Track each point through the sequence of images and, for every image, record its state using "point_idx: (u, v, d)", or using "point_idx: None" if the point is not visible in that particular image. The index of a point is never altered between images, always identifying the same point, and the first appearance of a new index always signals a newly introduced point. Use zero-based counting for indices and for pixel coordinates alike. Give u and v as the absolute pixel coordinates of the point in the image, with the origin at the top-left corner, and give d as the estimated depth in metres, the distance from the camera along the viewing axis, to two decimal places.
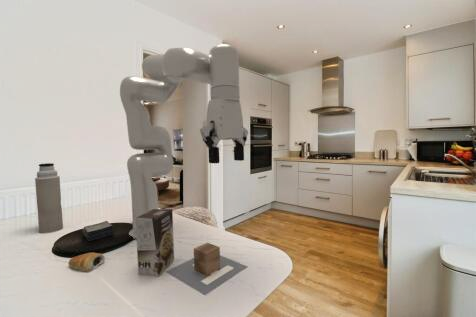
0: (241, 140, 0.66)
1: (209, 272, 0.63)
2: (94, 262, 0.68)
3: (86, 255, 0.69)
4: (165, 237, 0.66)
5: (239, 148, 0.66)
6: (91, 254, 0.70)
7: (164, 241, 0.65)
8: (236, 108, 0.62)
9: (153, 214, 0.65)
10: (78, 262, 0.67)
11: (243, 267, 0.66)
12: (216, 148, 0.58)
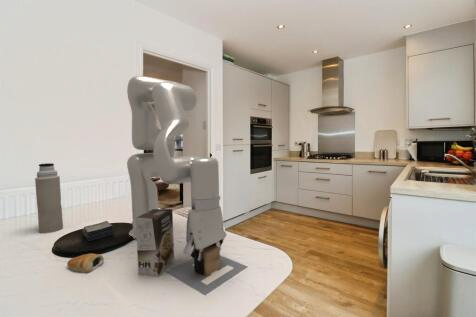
0: (218, 245, 0.67)
1: (209, 272, 0.63)
2: (94, 263, 0.68)
3: (85, 256, 0.68)
4: (165, 237, 0.66)
5: None
6: (90, 255, 0.69)
7: (164, 241, 0.65)
8: (216, 215, 0.64)
9: (153, 214, 0.65)
10: (77, 263, 0.66)
11: (243, 267, 0.66)
12: (201, 261, 0.62)
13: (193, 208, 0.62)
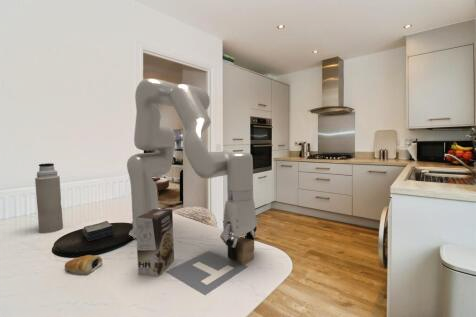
0: (252, 232, 0.72)
1: (245, 262, 0.68)
2: (93, 265, 0.67)
3: (83, 258, 0.67)
4: (165, 237, 0.66)
5: None
6: (88, 257, 0.68)
7: (163, 241, 0.65)
8: (250, 206, 0.69)
9: (153, 214, 0.65)
10: (76, 265, 0.65)
11: (243, 267, 0.66)
12: (235, 248, 0.66)
13: (230, 199, 0.67)
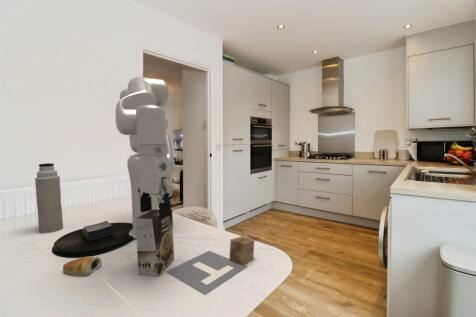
0: (159, 196, 0.61)
1: (244, 262, 0.68)
2: (92, 266, 0.66)
3: (82, 259, 0.67)
4: (165, 238, 0.66)
5: None
6: (87, 258, 0.68)
7: (163, 241, 0.65)
8: (147, 164, 0.62)
9: (153, 215, 0.65)
10: (75, 267, 0.65)
11: (243, 267, 0.66)
12: None
13: None
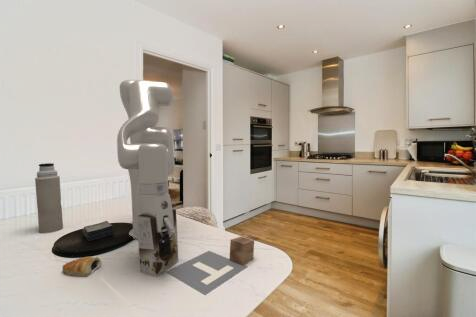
0: (159, 235, 0.63)
1: (244, 262, 0.68)
2: (92, 266, 0.66)
3: (82, 259, 0.67)
4: None
5: None
6: (87, 258, 0.67)
7: None
8: (149, 203, 0.63)
9: None
10: (74, 267, 0.64)
11: (243, 267, 0.66)
12: None
13: None
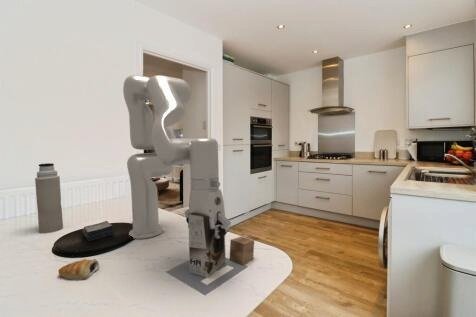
0: (214, 231, 0.61)
1: (244, 262, 0.68)
2: (91, 268, 0.65)
3: (80, 262, 0.65)
4: None
5: None
6: (85, 261, 0.66)
7: None
8: (202, 198, 0.61)
9: None
10: (72, 270, 0.63)
11: (243, 267, 0.66)
12: None
13: None
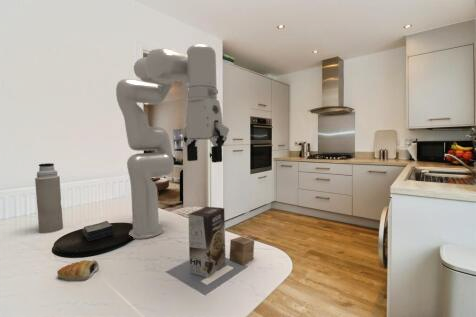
0: (211, 140, 0.59)
1: (244, 262, 0.68)
2: (90, 269, 0.64)
3: (79, 263, 0.64)
4: (216, 236, 0.64)
5: None
6: (84, 262, 0.65)
7: (214, 240, 0.63)
8: (199, 107, 0.60)
9: (205, 212, 0.64)
10: (72, 271, 0.62)
11: (243, 267, 0.66)
12: None
13: None
